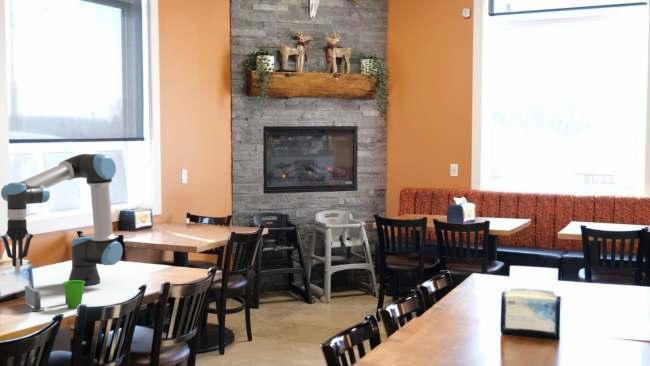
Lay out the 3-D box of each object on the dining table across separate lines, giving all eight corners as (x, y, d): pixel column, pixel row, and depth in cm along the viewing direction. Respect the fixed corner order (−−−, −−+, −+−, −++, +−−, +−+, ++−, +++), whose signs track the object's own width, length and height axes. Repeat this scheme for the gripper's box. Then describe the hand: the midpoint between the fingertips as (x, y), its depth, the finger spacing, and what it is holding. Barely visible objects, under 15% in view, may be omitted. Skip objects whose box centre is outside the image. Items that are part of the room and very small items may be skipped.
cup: (59, 309, 328) (58, 283, 328) (70, 304, 337) (70, 279, 337) (78, 310, 327) (78, 284, 326) (89, 305, 335) (89, 280, 335)
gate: (41, 308, 326) (41, 291, 325) (35, 309, 324) (35, 292, 324) (29, 300, 339) (29, 285, 339) (24, 301, 338) (23, 285, 337)
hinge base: (37, 308, 329) (37, 306, 329) (46, 309, 327) (46, 308, 327) (28, 311, 325) (28, 309, 324) (37, 312, 323) (37, 310, 322)
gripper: (3, 220, 322) (3, 276, 324) (35, 219, 330) (35, 273, 331) (-2, 218, 328) (-1, 273, 330) (30, 217, 336) (30, 271, 337)
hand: (17, 273), depth 331 cm, fingers closed
